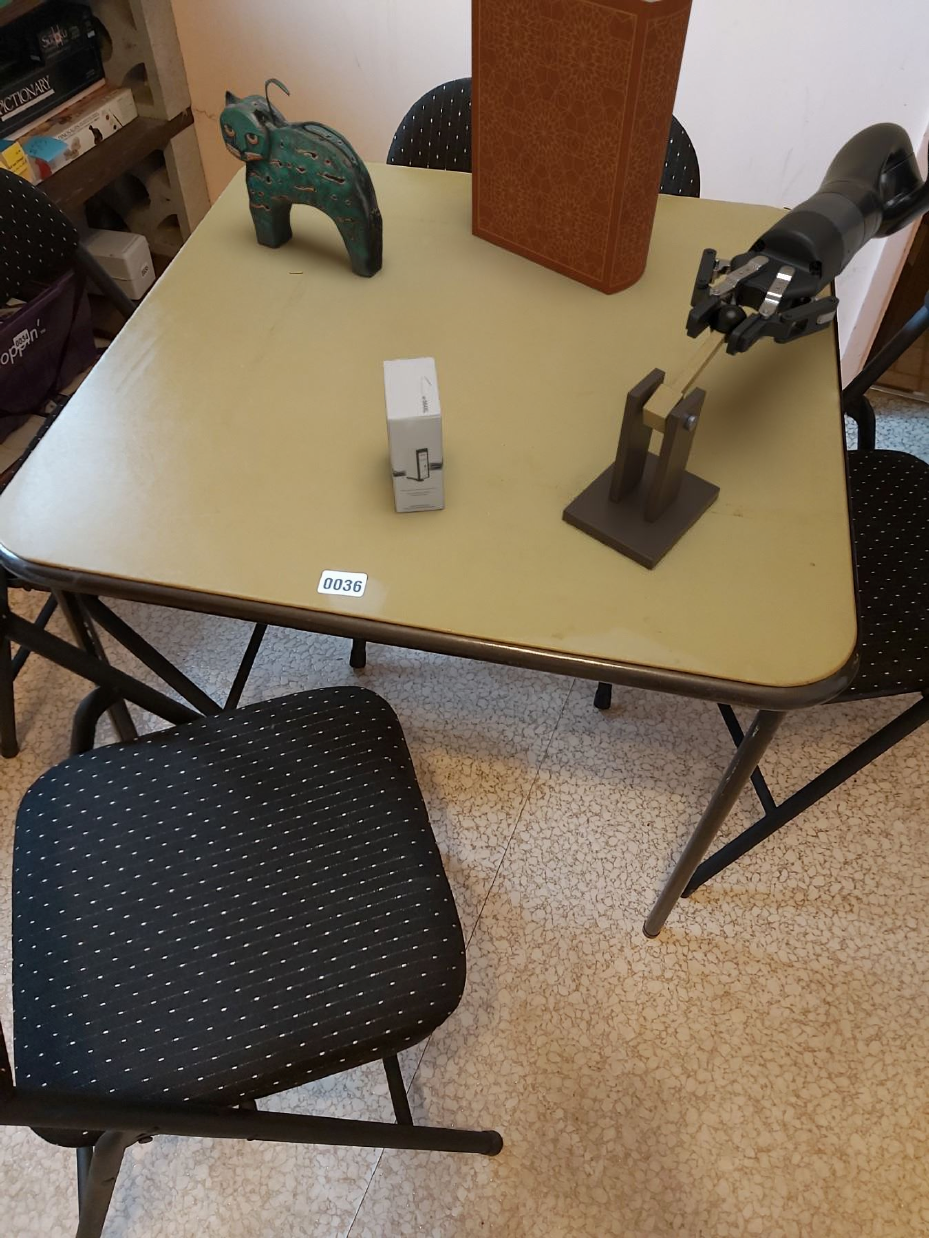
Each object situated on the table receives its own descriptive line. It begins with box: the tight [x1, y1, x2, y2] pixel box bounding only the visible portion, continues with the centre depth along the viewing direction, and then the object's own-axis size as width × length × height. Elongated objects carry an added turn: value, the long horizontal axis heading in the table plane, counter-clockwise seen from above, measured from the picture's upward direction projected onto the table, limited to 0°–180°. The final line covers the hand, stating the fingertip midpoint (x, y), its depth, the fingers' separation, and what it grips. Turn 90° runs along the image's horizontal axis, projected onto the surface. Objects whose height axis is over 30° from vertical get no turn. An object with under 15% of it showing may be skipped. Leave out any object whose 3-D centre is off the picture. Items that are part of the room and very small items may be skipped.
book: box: [470, 0, 694, 296], centre depth 96 cm, size 23×8×30 cm, turn 49°
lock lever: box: [643, 304, 748, 435], centre depth 72 cm, size 13×3×3 cm, turn 140°
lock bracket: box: [561, 367, 721, 571], centre depth 75 cm, size 12×10×14 cm
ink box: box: [382, 355, 445, 513], centre depth 78 cm, size 9×5×12 cm, turn 6°
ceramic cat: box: [219, 78, 384, 278], centre depth 100 cm, size 20×6×20 cm, turn 60°
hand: (712, 336), depth 71 cm, fingers closed on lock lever, 3 cm apart
